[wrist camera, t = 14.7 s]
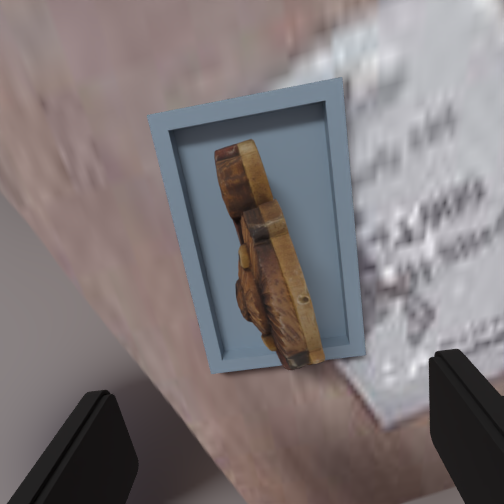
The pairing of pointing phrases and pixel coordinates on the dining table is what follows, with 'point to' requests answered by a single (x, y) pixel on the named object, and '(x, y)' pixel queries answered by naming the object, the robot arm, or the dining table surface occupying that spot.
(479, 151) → the dining table surface
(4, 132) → the dining table surface
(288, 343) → the wooden carving
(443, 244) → the dining table surface
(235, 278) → the tray
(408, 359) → the dining table surface
